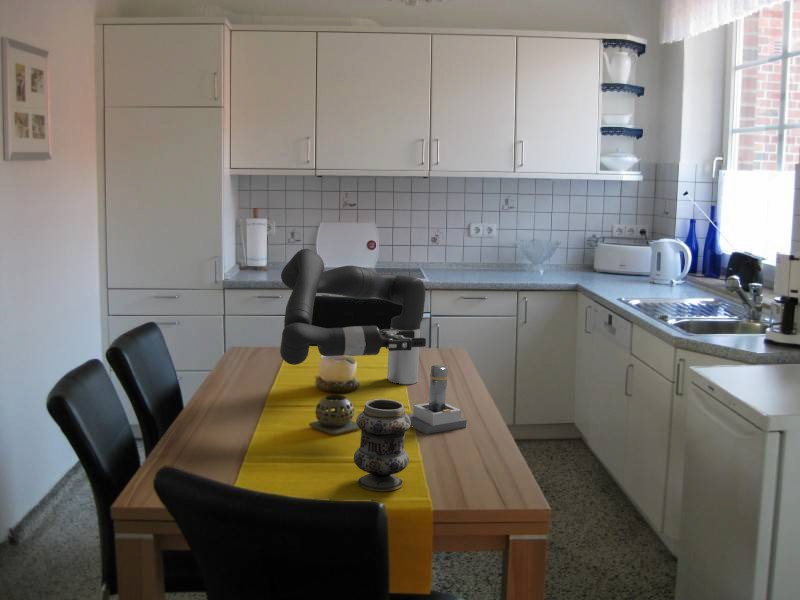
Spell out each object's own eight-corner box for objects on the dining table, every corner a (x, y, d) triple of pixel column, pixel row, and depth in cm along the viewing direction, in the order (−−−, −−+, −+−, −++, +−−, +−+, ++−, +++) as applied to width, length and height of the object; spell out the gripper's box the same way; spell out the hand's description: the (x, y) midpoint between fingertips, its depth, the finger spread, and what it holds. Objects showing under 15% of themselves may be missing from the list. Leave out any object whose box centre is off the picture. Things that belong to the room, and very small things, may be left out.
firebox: (402, 422, 237) (403, 402, 236) (441, 416, 244) (442, 396, 243) (425, 434, 228) (427, 413, 227) (466, 427, 235) (467, 407, 234)
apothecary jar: (418, 488, 191) (422, 407, 188) (370, 497, 185) (374, 415, 182) (389, 470, 201) (392, 393, 198) (342, 478, 195) (345, 399, 192)
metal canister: (424, 417, 235) (427, 366, 233) (438, 414, 238) (441, 364, 235) (434, 422, 231) (437, 370, 229) (448, 419, 234) (451, 368, 231)
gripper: (351, 348, 231) (410, 346, 236) (366, 362, 218) (428, 359, 223) (352, 320, 230) (411, 318, 235) (367, 332, 217) (429, 330, 222)
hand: (419, 338), depth 229 cm, fingers open, 8 cm apart
